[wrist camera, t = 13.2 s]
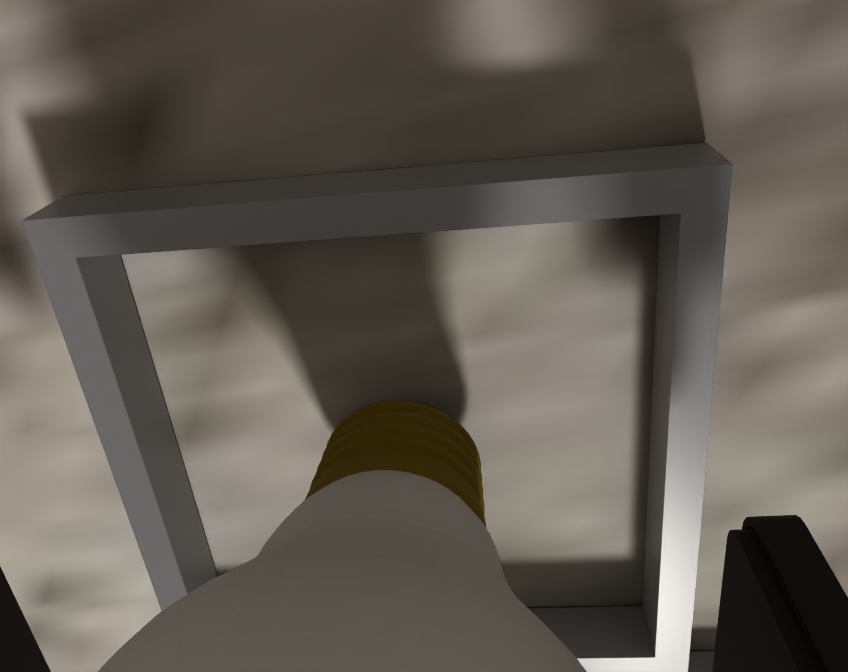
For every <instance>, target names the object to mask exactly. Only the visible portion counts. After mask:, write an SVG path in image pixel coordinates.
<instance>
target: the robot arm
mask: <svg viewBox="0 0 848 672" xmlns="http://www.w3.org/2000/svg"><path fill="white" fill-rule="evenodd" d="M0 672H51V671H50V669H49V667H48V665H47V663H46V661H45V659H44V657H43V655H42V652H41V650H40V648H39V646H38V644H37V642H36V640H35V638H34V636H33V634H32V632H31V630H30V627H29V625H28V623H27V621H26V619H25V617H24V615H23V613H22V611H21V609H20V607H19V605H18V603H17V600H16V598H15V596H14V594H13V592H12V590H11V588H10V586H9V584H8V582H7V580H6V578H5V575H4V573H3V571H2V569H1V567H0ZM712 672H848V597H847V595H846V594H845V592H844V590H843V588H842V587H841V585H840V583H839V582H838V580H837V578H836V576H835V575H834V573H833V571H832V570H831V568H830V566H829V564H828V563H827V561H826V559H825V557H824V556H823V554H822V552H821V551H820V549H819V547H818V545H817V544H816V542H815V540H814V539H813V537H812V535H811V533H810V532H809V530H808V528H807V526H806V525H805V523H804V522H803V521H802V519H801V518H800V517H798V516H797V515H785V516H759V517H747V518H745V520H744V522H743V526H742V530H730V531H729V533H728V537H727V544H726V553H725V562H724V571H723V580H722V589H721V598H720V607H719V616H718V625H717V634H716V643H715V652H714V661H713V670H712Z"/></svg>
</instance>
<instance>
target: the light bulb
mask: <svg viewBox="0 0 848 672" xmlns="http://www.w3.org/2000/svg"><path fill="white" fill-rule="evenodd" d="M98 672H587V671H586V670H585V669H584V667H583V666H582V665H581V663H580V662H579V661H578V659H577V658H576V657H575V656H574V654H573V653H572V652H571V651H570V650H569V649H568V648H567V647H566V646H565V645H564V644H563V643H562V642H561V641H560V640H559V639H558V638H557V636H556V635H555V634H554V633H553V632H552V631H551V630H550V629H549V628H548V627H547V626H546V625H545V624H544V623H543V622H542V621H541V620H540V619H539V618H538V617H537V616H536V615H535V614H534V613H533V612H532V611H530V610H529V609H528V608H527V607H526V606H525V605H524V604H523V603H522V602H521V601H520V600H519V599H518V598H517V597H516V596H515V594H514V593H513V592H512V590H511V589H510V587H509V584H508V582H507V580H506V578H505V576H504V572H503V569H502V566H501V563H500V559H499V556H498V553H497V550H496V547H495V545H494V542H493V540H492V538H491V536H490V533H489V532H488V530H487V529H486V523H485V518H484V501H483V487H482V474H481V462H480V457H479V453H478V450H477V448H476V445H475V443H474V441H473V440H472V438H471V437H470V435H469V434H468V432H467V431H466V430H465V429H464V428H463V427H462V426H461V424H459V423H458V422H457V421H456V420H454V419H453V418H452V417H451V416H449V415H447V414H446V413H444V412H442V411H441V410H438V409H436V408H433V407H431V406H428V405H425V404H421V403H417V402H410V401H386V402H379V403H376V404H372V405H369V406H366V407H364V408H362V409H359V410H357V411H356V412H354V413H353V414H351V415H350V416H348V417H347V418H346V419H345V420H343V421H342V422H341V423H340V424H339V425H338V426H337V428H336V429H335V430H334V432H333V433H332V435H331V437H330V439H329V441H328V443H327V447H326V449H325V451H324V453H323V456H322V460H321V462H320V464H319V466H318V469H317V472H316V475H315V477H314V479H313V481H312V483H311V487H310V491H309V492H308V495H307V497H306V499H305V501H303V502H302V503H301V504H300V505H299V506H298V507H297V508H296V509H295V510H294V511H293V512H292V513H291V514H290V515H289V516H288V517H287V518H286V519H285V520H284V521H283V522H282V523H281V525H280V526H279V527H278V528H277V529H276V531H275V532H274V533H273V534H272V535H271V537H270V538H269V539H268V540H267V542H266V543H265V545H264V547H263V548H262V550H261V551H260V553H259V555H258V556H257V557H255V558H254V559H252V560H250V561H248V562H246V563H244V564H242V565H240V566H238V567H236V568H234V569H232V570H230V571H228V572H226V573H224V574H222V575H220V576H218V577H216V578H214V579H212V580H210V581H208V582H206V583H205V584H203V585H202V586H200V587H198V588H197V589H195V590H194V591H192V592H190V593H189V594H187V595H186V596H184V597H182V598H181V599H179V600H178V601H176V602H174V603H173V604H172V605H170V606H169V607H167V608H166V609H165V610H163V611H162V612H160V613H159V614H158V615H157V616H156V617H154V618H153V619H152V620H151V621H150V622H149V623H148V624H146V625H145V626H144V627H143V628H142V629H141V630H140V631H139V632H137V633H136V634H135V635H134V636H133V637H132V638H131V639H130V640H129V641H128V642H127V643H125V644H124V645H123V646H122V647H121V648H120V649H119V650H118V651H117V652H116V653H115V654H114V655H113V656H112V657H111V658H110V659H109V660H108V661H107V662H106V663H105V664H104V665H103V666H102V667H101V669H100V670H99V671H98Z"/></svg>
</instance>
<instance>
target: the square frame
mask: <svg viewBox="0 0 848 672" xmlns="http://www.w3.org/2000/svg"><path fill="white" fill-rule="evenodd" d="M731 175H732V163H730V162H729V161H728V160H727V159H726V158H725V157H723V156H722V155H721V154H720V153H719V152H717V151H716V150H715V149H714V148H713V147H711V146H710V145H709V144H708V143H696V144H684V145H672V146H660V147H648V148H636V149H624V150H612V151H600V152H587V153H575V154H563V155H551V156H539V157H527V158H515V159H503V160H491V161H479V162H467V163H455V164H442V165H430V166H418V167H406V168H394V169H382V170H370V171H358V172H346V173H334V174H322V175H309V176H297V177H285V178H273V179H261V180H249V181H237V182H225V183H213V184H201V185H189V186H177V187H164V188H152V189H140V190H128V191H116V192H104V193H92V194H80V195H68V196H63V197H61V198H60V199H58V200H56V201H55V202H53V203H51V204H49V205H48V206H46V207H44V208H43V209H41V210H39V211H38V212H36V213H34V214H32V215H31V216H29V217H27V218H26V219H24V220H22V222H23V225H24V228H25V231H26V234H27V236H28V239H29V242H30V245H31V248H32V250H33V253H34V256H35V259H36V262H37V264H38V267H39V270H40V273H41V275H42V278H43V281H44V284H45V287H46V289H47V292H48V295H49V298H50V301H51V303H52V306H53V309H54V312H55V315H56V317H57V320H58V323H59V326H60V328H61V331H62V334H63V337H64V340H65V342H66V345H67V348H68V351H69V354H70V356H71V359H72V362H73V365H74V367H75V370H76V373H77V376H78V379H79V381H80V384H81V387H82V390H83V393H84V395H85V398H86V401H87V404H88V407H89V409H90V412H91V415H92V418H93V420H94V423H95V426H96V429H97V432H98V434H99V437H100V440H101V443H102V446H103V448H104V451H105V454H106V457H107V460H108V462H109V465H110V468H111V471H112V473H113V476H114V479H115V482H116V485H117V487H118V490H119V493H120V496H121V499H122V501H123V504H124V507H125V510H126V513H127V515H128V518H129V521H130V524H131V526H132V529H133V532H134V535H135V538H136V540H137V543H138V546H139V549H140V552H141V554H142V557H143V560H144V563H145V565H146V568H147V571H148V574H149V577H150V579H151V582H152V585H153V588H154V591H155V593H156V596H157V599H158V602H159V605H160V607H161V610H162V611H163V610H165V609H166V608H167V607H169V606H170V605H172V604H173V603H174V602H176V601H178V600H179V599H181V598H182V597H184V596H186V595H187V594H189V593H190V592H192V591H194V590H195V589H197V588H198V587H200V586H202V585H203V584H205V583H206V582H208V581H210V580H212V579H214V578H216V577H217V573H216V570H215V567H214V563H213V560H212V557H211V554H210V550H209V547H208V544H207V540H206V537H205V534H204V530H203V527H202V524H201V521H200V517H199V514H198V511H197V507H196V504H195V501H194V497H193V494H192V491H191V488H190V484H189V481H188V478H187V474H186V471H185V468H184V464H183V461H182V458H181V455H180V451H179V448H178V445H177V441H176V438H175V435H174V431H173V428H172V425H171V422H170V418H169V415H168V412H167V408H166V405H165V402H164V398H163V395H162V392H161V389H160V385H159V382H158V379H157V375H156V372H155V369H154V365H153V362H152V359H151V356H150V352H149V349H148V346H147V342H146V339H145V336H144V332H143V329H142V326H141V323H140V319H139V316H138V313H137V309H136V306H135V303H134V299H133V296H132V293H131V290H130V286H129V283H128V280H127V276H126V273H125V270H124V266H123V263H122V260H121V257H120V255H121V254H134V253H148V252H162V251H175V250H189V249H202V248H216V247H230V246H243V245H257V244H271V243H284V242H298V241H312V240H325V239H339V238H352V237H366V236H380V235H393V234H407V233H421V232H434V231H448V230H462V229H475V228H489V227H502V226H516V225H530V224H543V223H557V222H571V221H584V220H598V219H612V218H625V217H639V216H652V215H660V226H659V248H658V270H657V293H656V315H655V337H654V359H653V381H652V404H651V426H650V448H649V470H648V492H647V515H646V537H645V559H644V581H643V603H642V606H624V607H573V608H528V609H529V610H530V611H532V612H533V613H534V614H535V615H536V616H537V617H538V618H539V619H540V620H541V621H542V622H543V623H544V624H545V625H546V626H547V627H548V628H549V629H550V630H551V631H552V632H553V633H554V634H555V635H556V636H557V638H558V639H559V640H560V641H561V642H562V643H563V644H564V645H565V646H566V647H567V648H568V649H569V650H570V651H571V652H572V653H573V654H574V656H575V657H576V658H577V659H578V661H579V662H580V663H581V665H582V666H583V667H584V669H585V670H586V671H587V672H688V664H689V653H690V642H691V630H692V619H693V607H694V596H695V585H696V573H697V562H698V551H699V539H700V528H701V516H702V505H703V494H704V482H705V471H706V460H707V448H708V437H709V425H710V414H711V403H712V391H713V380H714V369H715V357H716V346H717V334H718V323H719V312H720V300H721V289H722V278H723V266H724V255H725V243H726V232H727V221H728V209H729V198H730V187H731Z"/></svg>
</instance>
